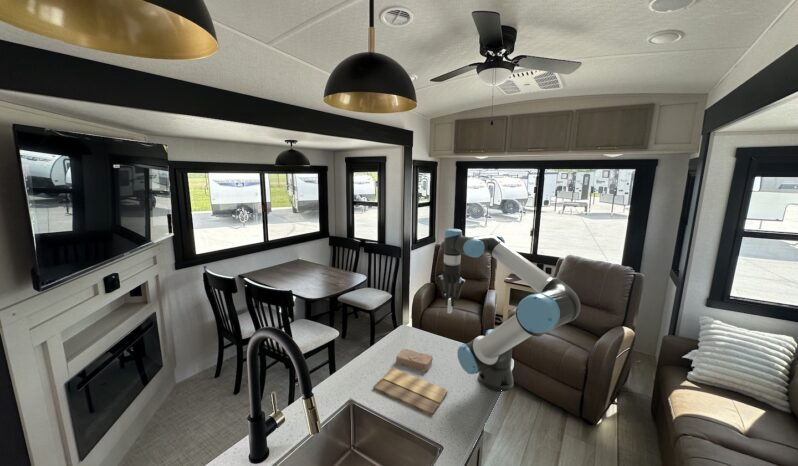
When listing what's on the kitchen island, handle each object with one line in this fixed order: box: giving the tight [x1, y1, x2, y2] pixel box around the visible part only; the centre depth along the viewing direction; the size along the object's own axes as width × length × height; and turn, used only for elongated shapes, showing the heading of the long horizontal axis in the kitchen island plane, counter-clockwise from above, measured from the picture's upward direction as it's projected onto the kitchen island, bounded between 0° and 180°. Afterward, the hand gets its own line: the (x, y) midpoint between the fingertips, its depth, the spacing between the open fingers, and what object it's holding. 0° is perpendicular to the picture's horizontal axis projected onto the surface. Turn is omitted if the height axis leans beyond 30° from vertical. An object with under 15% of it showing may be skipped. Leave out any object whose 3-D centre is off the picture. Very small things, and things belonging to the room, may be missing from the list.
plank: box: [381, 367, 448, 406], centre depth 135 cm, size 28×8×1 cm, turn 58°
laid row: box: [372, 378, 440, 417], centre depth 128 cm, size 28×6×1 cm, turn 58°
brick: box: [395, 348, 434, 372], centre depth 152 cm, size 17×8×5 cm, turn 66°
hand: (449, 312), depth 144 cm, fingers closed
